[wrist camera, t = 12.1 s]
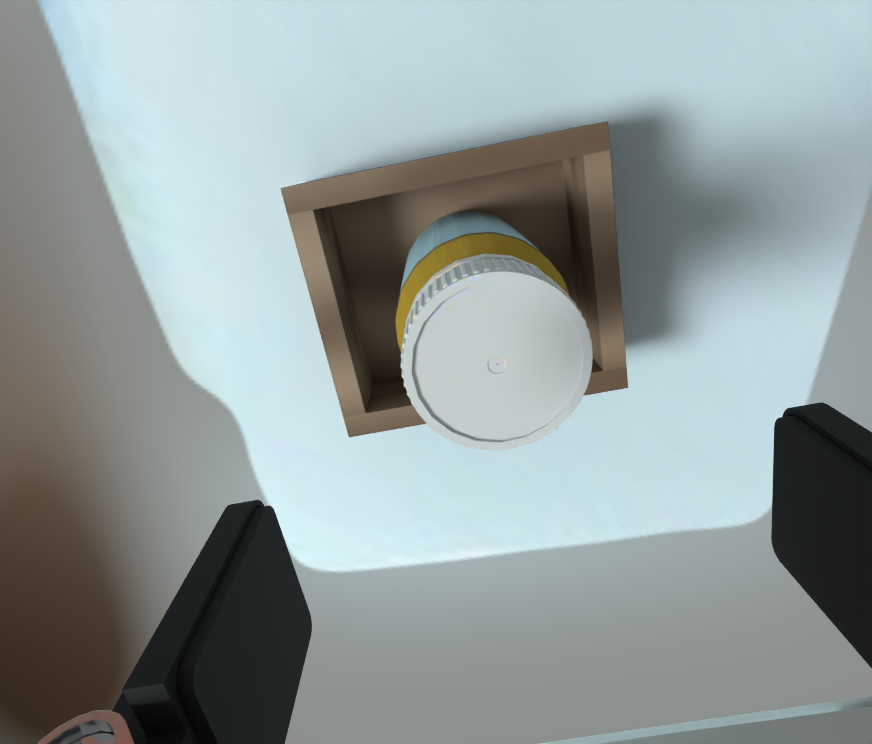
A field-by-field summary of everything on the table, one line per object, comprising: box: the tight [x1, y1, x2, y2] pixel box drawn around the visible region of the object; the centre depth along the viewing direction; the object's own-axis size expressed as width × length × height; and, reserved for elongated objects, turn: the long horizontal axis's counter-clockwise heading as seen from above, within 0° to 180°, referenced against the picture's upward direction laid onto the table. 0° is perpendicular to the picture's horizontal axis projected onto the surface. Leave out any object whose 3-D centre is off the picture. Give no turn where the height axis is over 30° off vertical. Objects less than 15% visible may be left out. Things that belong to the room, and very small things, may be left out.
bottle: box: [396, 211, 593, 450], centre depth 25 cm, size 7×7×15 cm
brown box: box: [280, 122, 628, 437], centre depth 31 cm, size 13×15×6 cm
